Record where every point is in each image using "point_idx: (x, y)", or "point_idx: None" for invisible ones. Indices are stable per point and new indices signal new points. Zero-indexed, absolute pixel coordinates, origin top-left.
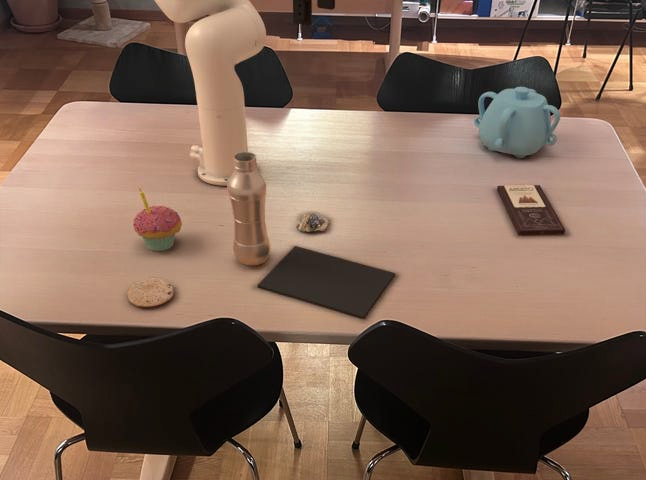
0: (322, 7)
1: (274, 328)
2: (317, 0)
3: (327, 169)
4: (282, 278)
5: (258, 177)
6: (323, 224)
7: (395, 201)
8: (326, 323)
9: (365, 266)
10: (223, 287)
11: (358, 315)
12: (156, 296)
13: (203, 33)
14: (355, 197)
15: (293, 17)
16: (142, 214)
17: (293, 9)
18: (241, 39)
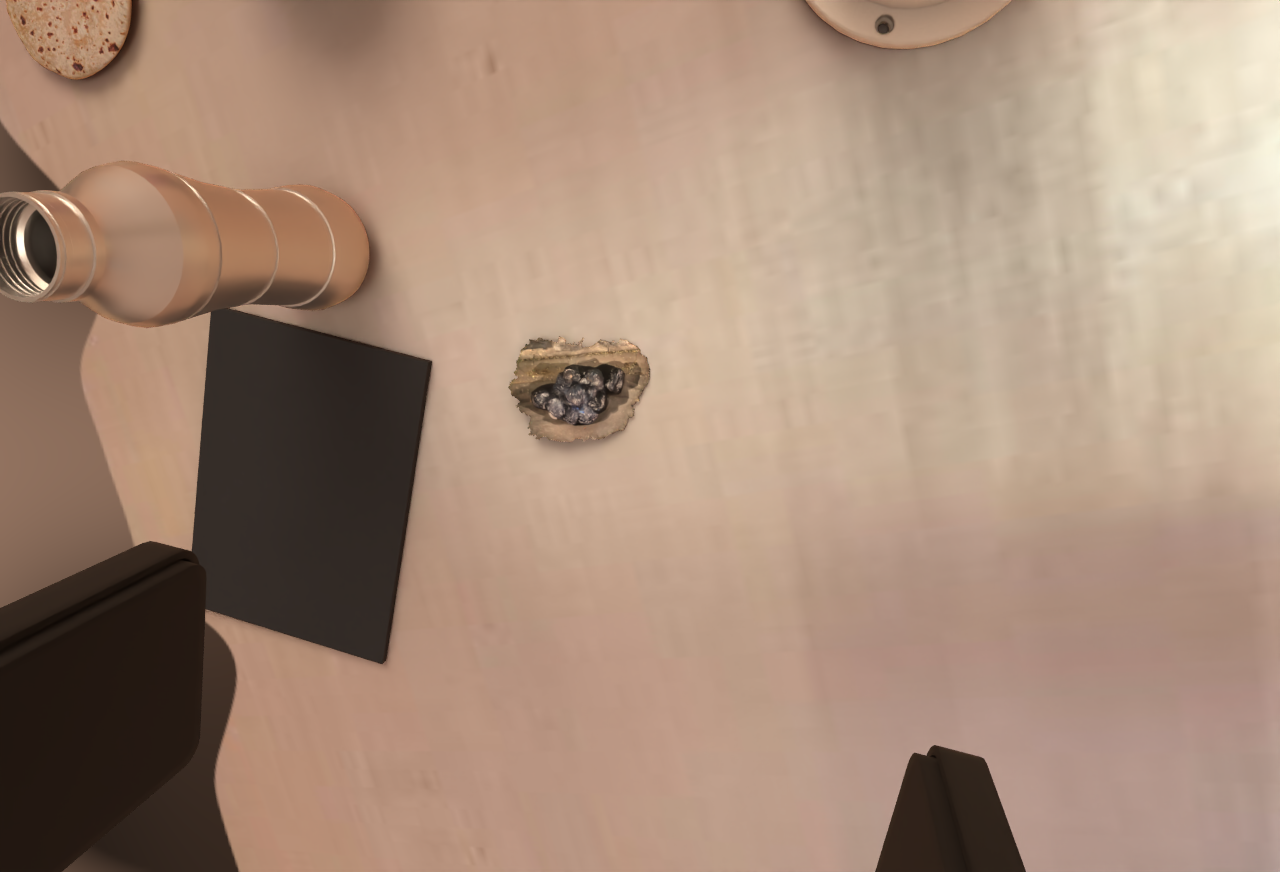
0: (895, 820)
1: (87, 397)
2: (932, 808)
3: (1029, 349)
4: (262, 368)
5: (94, 306)
6: (568, 427)
7: (805, 636)
8: (148, 517)
9: (386, 585)
10: None
11: None
12: (51, 35)
13: None
14: (805, 497)
15: (114, 561)
16: None
17: (12, 609)
18: None
